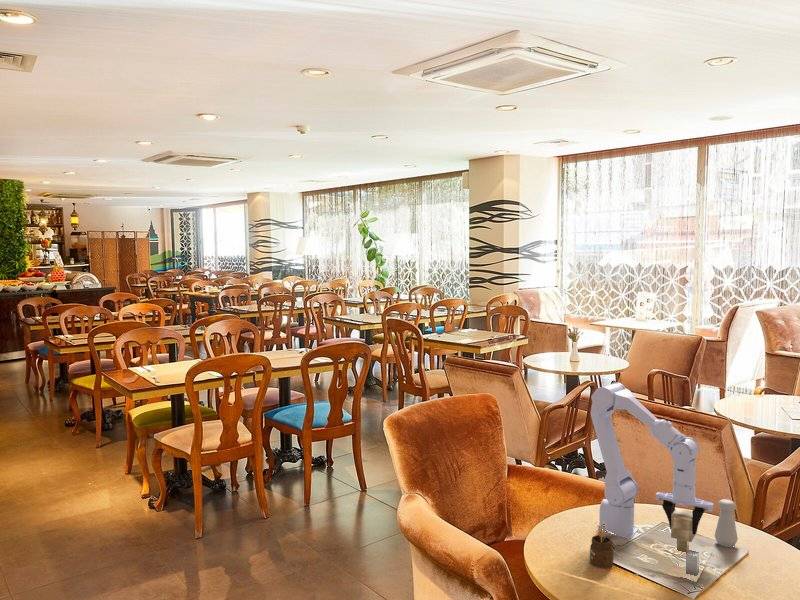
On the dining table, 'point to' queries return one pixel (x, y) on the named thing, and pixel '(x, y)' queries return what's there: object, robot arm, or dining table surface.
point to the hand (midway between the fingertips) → (683, 530)
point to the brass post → (682, 545)
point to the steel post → (692, 562)
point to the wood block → (682, 525)
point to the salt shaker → (726, 524)
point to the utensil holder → (601, 550)
